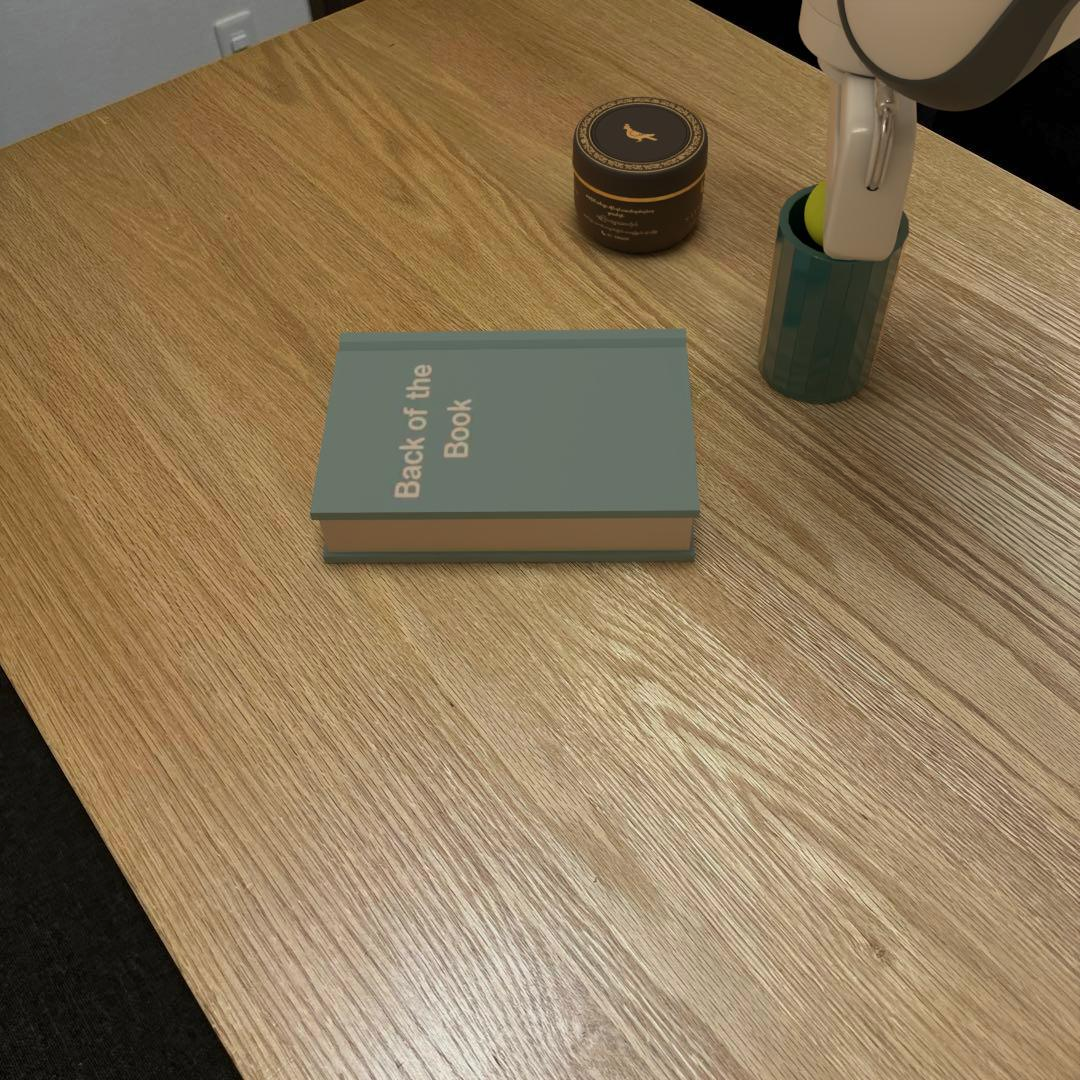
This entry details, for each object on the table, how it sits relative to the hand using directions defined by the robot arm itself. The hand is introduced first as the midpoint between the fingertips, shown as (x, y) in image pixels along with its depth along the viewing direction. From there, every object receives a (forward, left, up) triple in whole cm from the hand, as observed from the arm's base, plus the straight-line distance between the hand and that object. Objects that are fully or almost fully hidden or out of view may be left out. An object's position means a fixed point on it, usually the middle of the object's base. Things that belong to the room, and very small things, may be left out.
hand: (843, 220), depth 73 cm
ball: (0, 0, +1) cm, 1 cm away
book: (+19, +12, -12) cm, 26 cm away
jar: (+14, -14, -12) cm, 23 cm away
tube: (0, 0, -12) cm, 12 cm away
